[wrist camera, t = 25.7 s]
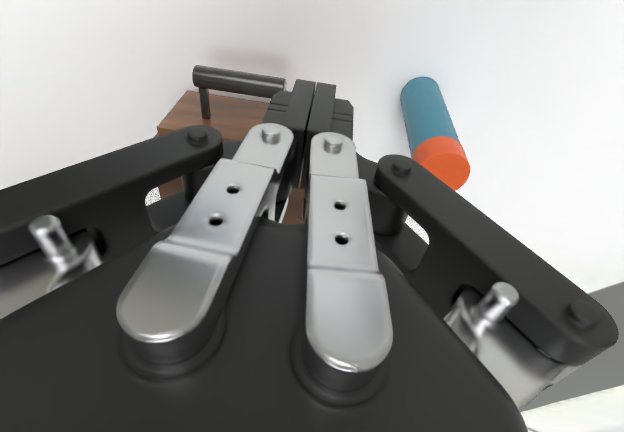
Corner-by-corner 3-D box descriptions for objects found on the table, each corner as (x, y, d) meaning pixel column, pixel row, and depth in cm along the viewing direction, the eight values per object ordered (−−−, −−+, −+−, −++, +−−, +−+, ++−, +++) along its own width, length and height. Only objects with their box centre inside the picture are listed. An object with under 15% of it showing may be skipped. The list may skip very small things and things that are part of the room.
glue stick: (395, 110, 33) (407, 191, 24) (406, 73, 31) (424, 148, 22) (432, 115, 33) (457, 198, 24) (446, 79, 31) (479, 156, 22)
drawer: (180, 41, 30) (144, 73, 25) (324, 64, 30) (317, 100, 25) (205, 221, 45) (186, 263, 40) (301, 236, 45) (293, 279, 40)
